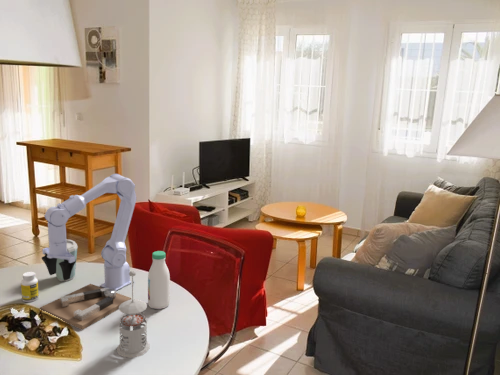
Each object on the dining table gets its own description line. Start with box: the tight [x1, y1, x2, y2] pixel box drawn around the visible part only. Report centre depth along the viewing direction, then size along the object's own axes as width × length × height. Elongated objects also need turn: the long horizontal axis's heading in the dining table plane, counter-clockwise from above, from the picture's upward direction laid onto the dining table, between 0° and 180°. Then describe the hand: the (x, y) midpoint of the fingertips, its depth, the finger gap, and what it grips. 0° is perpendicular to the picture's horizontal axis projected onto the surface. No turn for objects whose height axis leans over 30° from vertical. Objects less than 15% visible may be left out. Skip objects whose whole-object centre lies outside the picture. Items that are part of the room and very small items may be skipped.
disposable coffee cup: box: [55, 238, 79, 282], centre depth 168 cm, size 11×11×15 cm
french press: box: [116, 270, 151, 359], centre depth 125 cm, size 10×12×25 cm
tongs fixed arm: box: [74, 297, 113, 320], centre depth 144 cm, size 14×4×2 cm, turn 152°
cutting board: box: [39, 283, 132, 331], centre depth 149 cm, size 22×21×2 cm
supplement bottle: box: [20, 271, 39, 303], centre depth 152 cm, size 5×5×10 cm
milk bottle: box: [147, 250, 171, 310], centre depth 151 cm, size 8×8×20 cm
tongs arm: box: [60, 287, 117, 307], centre depth 150 cm, size 18×6×2 cm, turn 122°
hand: (59, 276), depth 150 cm, fingers open, 7 cm apart
